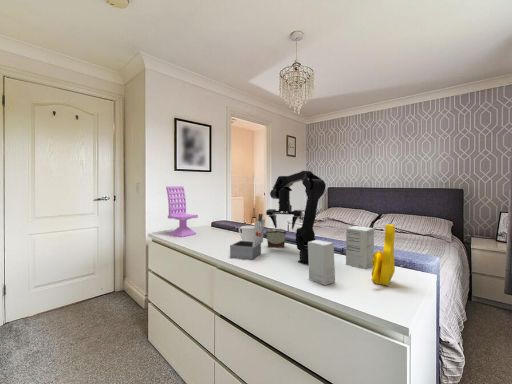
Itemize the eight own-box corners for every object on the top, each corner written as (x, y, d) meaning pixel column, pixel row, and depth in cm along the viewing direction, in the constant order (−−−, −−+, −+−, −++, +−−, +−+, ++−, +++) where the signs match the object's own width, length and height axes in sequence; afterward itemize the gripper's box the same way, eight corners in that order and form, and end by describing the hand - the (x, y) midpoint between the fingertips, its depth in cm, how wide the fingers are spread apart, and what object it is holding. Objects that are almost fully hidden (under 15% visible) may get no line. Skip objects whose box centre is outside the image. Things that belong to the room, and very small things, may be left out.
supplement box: (354, 260, 122) (354, 225, 122) (374, 264, 115) (374, 227, 115) (345, 264, 115) (345, 227, 115) (365, 269, 109) (366, 230, 108)
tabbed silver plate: (260, 241, 133) (265, 242, 132) (252, 246, 122) (257, 247, 121) (263, 212, 132) (268, 213, 131) (255, 215, 121) (260, 215, 120)
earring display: (181, 237, 173) (181, 186, 172) (165, 234, 182) (165, 186, 181) (197, 234, 185) (197, 186, 184) (181, 231, 195) (181, 186, 194)
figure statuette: (375, 273, 103) (376, 220, 103) (397, 278, 99) (398, 221, 98) (366, 288, 89) (366, 226, 88) (391, 294, 84) (392, 228, 84)
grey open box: (260, 253, 133) (260, 242, 133) (252, 260, 122) (252, 247, 122) (240, 251, 137) (240, 240, 137) (230, 257, 126) (230, 245, 126)
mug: (257, 242, 160) (257, 226, 160) (254, 245, 151) (254, 228, 151) (240, 241, 162) (240, 225, 161) (236, 244, 153) (236, 227, 153)
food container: (286, 245, 152) (286, 228, 152) (286, 247, 146) (286, 230, 145) (266, 244, 153) (266, 228, 153) (265, 247, 147) (265, 230, 147)
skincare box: (335, 282, 94) (335, 242, 94) (324, 286, 91) (324, 244, 90) (317, 275, 101) (318, 238, 101) (307, 279, 97) (307, 240, 97)
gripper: (304, 199, 139) (304, 227, 140) (271, 198, 146) (272, 225, 146) (300, 200, 129) (300, 230, 129) (265, 199, 136) (265, 228, 136)
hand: (284, 228), depth 135 cm, fingers open, 9 cm apart
